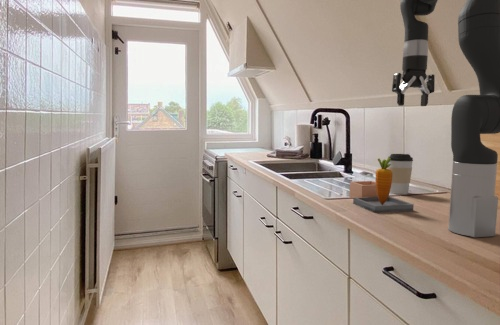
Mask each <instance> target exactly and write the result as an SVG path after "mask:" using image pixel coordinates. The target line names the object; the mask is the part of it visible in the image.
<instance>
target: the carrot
mask: <svg viewBox="0 0 500 325" xmlns="http://www.w3.org/2000/svg"><path fill="white" fill-rule="evenodd" d="M390 160H391V158H388V157H387V159H384V158H383V160H381V158H377V161H378V163H379V165H380V168H377V169H376V170H375V182H376V192H377V196H378V199H379V201H380V203H381V204H382V205H383V204H384V203H385V202H386V200H387V198H388V196H389V195H390V194H391V193H390V189H391V184H392V171H391V170H389V169H388V167H389V166H390V165H391V164H388V163H389V162H390Z"/></svg>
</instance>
